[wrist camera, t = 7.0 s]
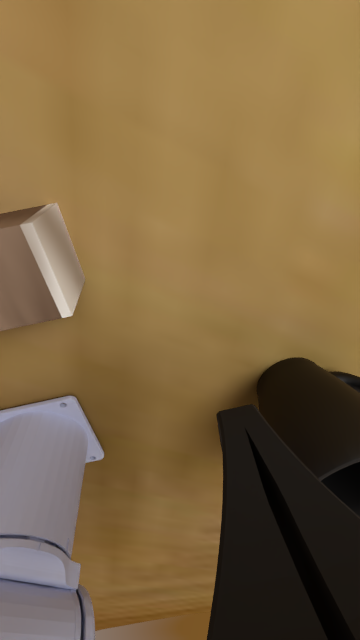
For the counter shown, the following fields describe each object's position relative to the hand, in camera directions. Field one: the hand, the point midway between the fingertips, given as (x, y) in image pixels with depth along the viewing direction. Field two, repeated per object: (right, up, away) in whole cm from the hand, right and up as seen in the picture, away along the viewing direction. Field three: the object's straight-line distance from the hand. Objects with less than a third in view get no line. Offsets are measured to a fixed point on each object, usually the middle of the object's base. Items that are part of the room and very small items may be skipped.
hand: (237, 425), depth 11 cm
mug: (+9, -1, +15) cm, 17 cm away
